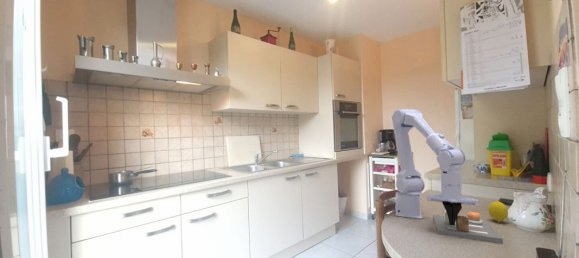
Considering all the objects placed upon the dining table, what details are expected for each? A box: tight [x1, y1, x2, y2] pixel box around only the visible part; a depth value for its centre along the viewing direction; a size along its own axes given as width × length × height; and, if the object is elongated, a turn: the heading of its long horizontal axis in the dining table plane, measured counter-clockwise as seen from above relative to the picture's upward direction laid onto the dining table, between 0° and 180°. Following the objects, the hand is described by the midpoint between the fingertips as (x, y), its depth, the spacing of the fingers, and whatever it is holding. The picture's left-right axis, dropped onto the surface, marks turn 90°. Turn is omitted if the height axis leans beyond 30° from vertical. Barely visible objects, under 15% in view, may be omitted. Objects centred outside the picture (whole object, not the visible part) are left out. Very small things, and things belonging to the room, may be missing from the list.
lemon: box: [488, 200, 509, 223], centre depth 92 cm, size 6×6×8 cm
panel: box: [432, 214, 504, 244], centre depth 85 cm, size 17×16×2 cm
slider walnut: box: [456, 215, 469, 232], centre depth 81 cm, size 3×3×4 cm
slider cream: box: [443, 209, 456, 225], centre depth 87 cm, size 3×3×4 cm
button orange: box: [466, 210, 481, 220], centre depth 88 cm, size 4×4×2 cm
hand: (451, 224), depth 82 cm, fingers closed
